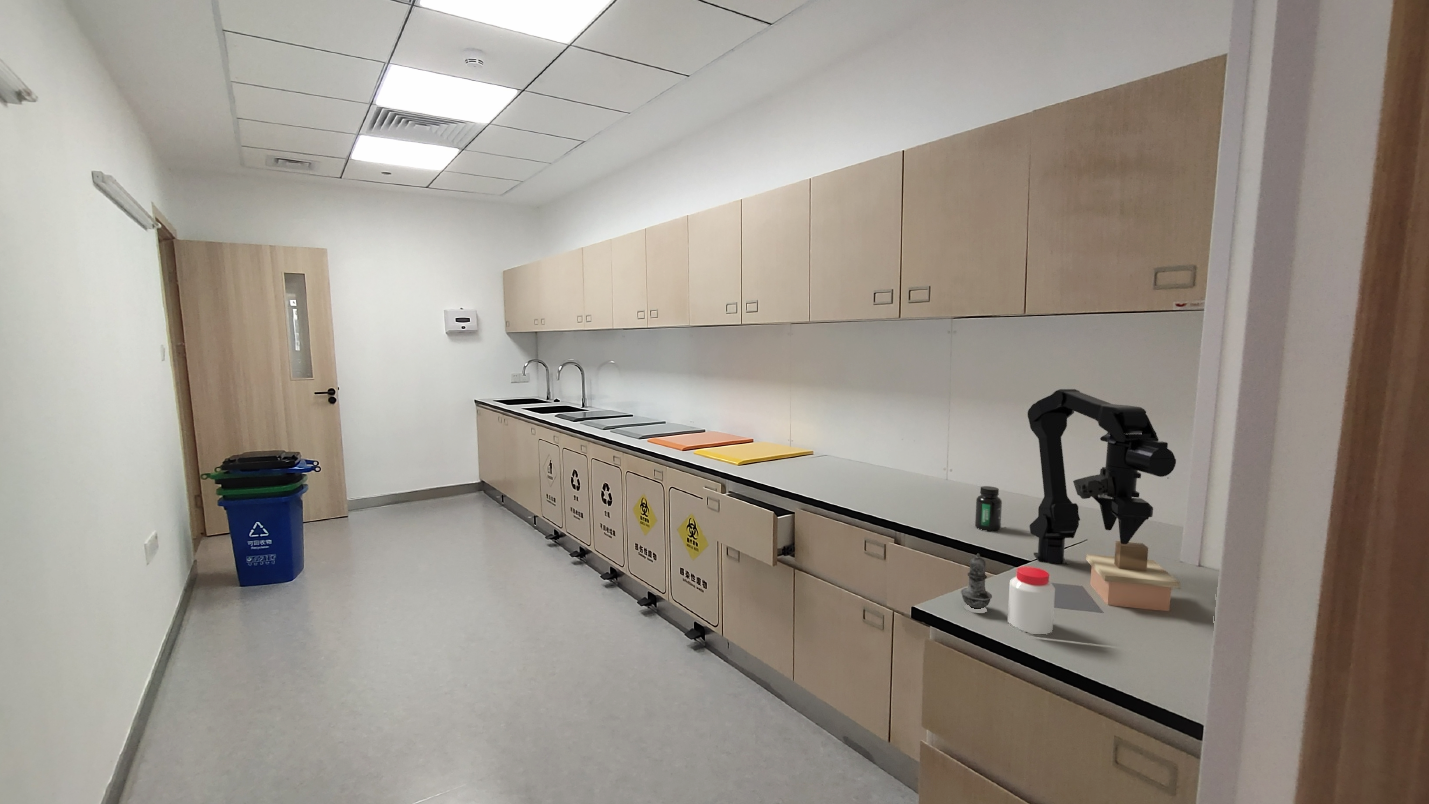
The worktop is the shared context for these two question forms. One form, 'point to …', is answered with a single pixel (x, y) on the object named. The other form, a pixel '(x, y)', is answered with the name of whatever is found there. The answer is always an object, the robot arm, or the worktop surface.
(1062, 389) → the robot arm
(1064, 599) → the mat
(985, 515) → the supplement bottle
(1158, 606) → the pink open tray
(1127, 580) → the lid
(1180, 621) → the worktop surface
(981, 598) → the grey figurine
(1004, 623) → the worktop surface
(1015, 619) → the pill bottle
